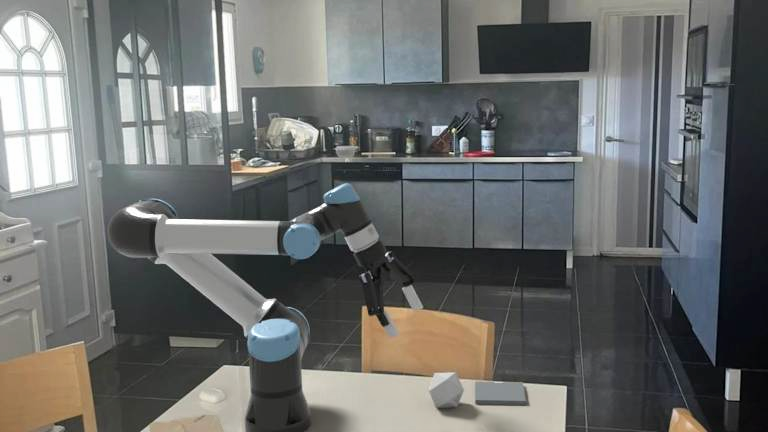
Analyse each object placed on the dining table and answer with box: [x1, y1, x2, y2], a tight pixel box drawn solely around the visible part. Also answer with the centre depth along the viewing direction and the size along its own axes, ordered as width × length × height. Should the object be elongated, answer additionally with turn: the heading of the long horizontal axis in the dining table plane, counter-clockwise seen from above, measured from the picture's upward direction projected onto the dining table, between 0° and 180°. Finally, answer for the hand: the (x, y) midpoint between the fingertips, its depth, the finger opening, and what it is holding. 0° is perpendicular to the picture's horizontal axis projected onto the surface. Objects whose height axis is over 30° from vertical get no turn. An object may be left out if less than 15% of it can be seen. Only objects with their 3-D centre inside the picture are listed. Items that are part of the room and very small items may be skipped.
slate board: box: [474, 380, 527, 406], centre depth 193 cm, size 12×12×1 cm
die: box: [427, 371, 465, 409], centre depth 187 cm, size 8×9×10 cm
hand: (406, 322), depth 188 cm, fingers open, 13 cm apart
